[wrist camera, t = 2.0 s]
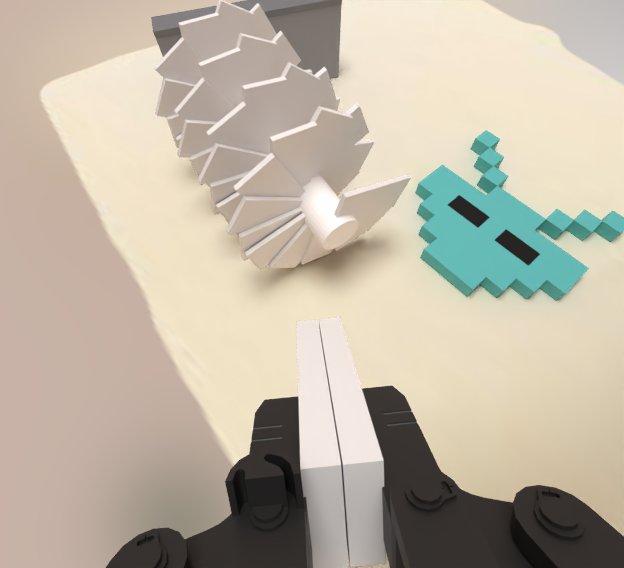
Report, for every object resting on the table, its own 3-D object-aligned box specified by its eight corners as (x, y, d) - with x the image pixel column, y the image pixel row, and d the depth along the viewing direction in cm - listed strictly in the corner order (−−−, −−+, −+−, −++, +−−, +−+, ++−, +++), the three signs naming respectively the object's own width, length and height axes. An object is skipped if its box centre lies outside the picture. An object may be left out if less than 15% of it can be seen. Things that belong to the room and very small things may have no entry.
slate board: (332, 64, 58) (334, -16, 49) (338, 77, 57) (341, -3, 47) (180, 94, 56) (151, 17, 46) (183, 108, 55) (153, 31, 45)
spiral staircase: (303, 303, 45) (212, 166, 53) (423, 208, 41) (305, 77, 50) (210, 278, 28) (99, 83, 36) (400, 114, 24) (228, -60, 33)
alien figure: (479, 143, 51) (378, 224, 45) (486, 130, 49) (380, 213, 43) (617, 233, 44) (517, 341, 38) (631, 222, 42) (527, 334, 36)
